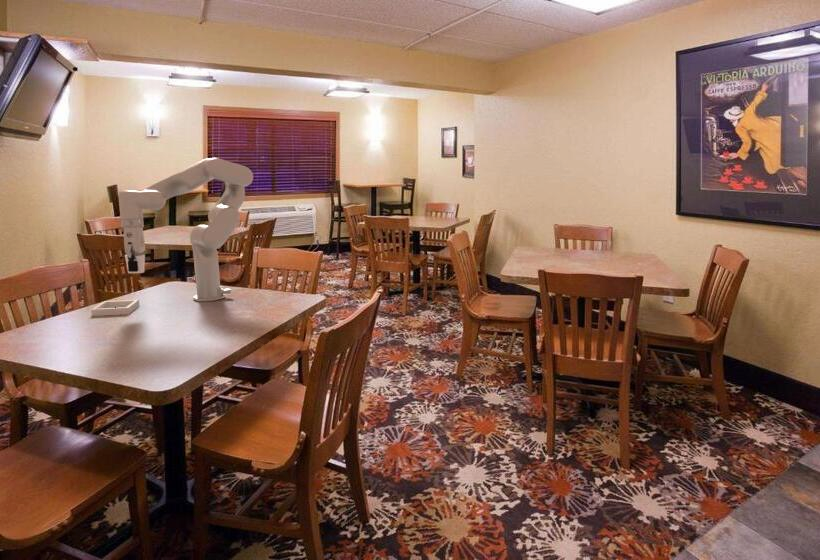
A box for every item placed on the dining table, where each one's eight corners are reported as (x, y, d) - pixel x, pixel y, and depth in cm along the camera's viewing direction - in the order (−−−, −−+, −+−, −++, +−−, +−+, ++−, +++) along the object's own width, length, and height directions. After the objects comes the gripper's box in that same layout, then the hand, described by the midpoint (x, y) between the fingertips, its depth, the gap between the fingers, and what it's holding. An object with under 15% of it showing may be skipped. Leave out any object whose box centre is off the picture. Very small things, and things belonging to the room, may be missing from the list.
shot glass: (150, 272, 192) (148, 254, 191) (132, 274, 187) (131, 256, 185) (139, 270, 196) (138, 252, 195) (122, 272, 190) (120, 254, 189)
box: (139, 305, 200) (138, 299, 200) (129, 314, 188) (128, 307, 188) (104, 307, 198) (103, 301, 197) (91, 316, 186) (91, 309, 185)
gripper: (136, 225, 180) (140, 273, 184) (149, 221, 197) (152, 266, 200) (113, 225, 179) (118, 273, 182) (128, 221, 195) (132, 266, 198)
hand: (136, 269), depth 191 cm, fingers closed on shot glass, 6 cm apart
